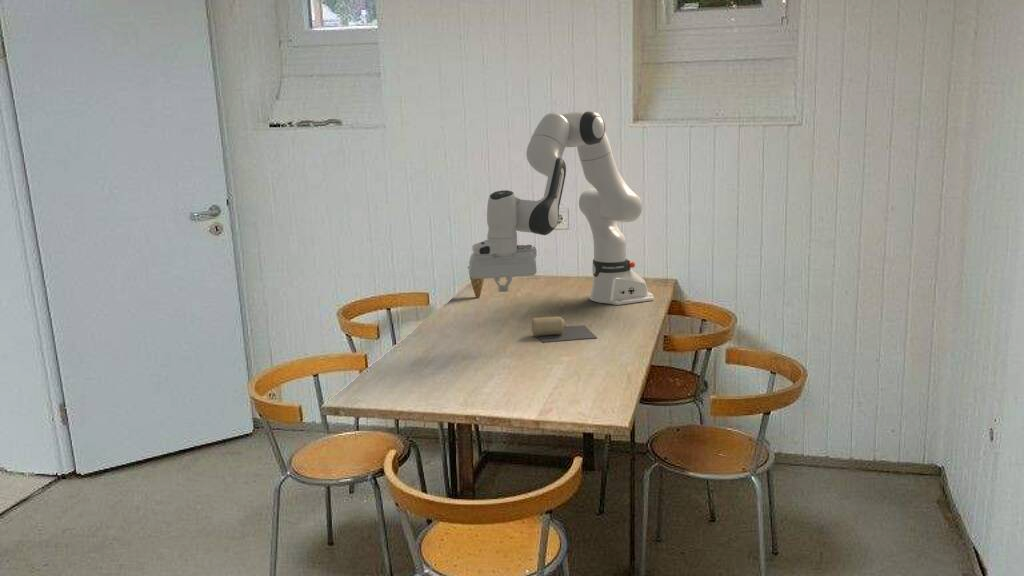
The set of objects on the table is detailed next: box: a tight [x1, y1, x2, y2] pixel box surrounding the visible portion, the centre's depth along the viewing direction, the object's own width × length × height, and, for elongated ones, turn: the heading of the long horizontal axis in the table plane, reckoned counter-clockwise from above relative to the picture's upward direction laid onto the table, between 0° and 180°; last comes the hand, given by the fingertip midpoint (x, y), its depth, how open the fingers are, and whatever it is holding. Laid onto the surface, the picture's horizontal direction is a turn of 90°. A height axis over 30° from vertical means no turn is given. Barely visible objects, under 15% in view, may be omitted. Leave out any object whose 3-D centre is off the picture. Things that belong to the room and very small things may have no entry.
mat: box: [536, 324, 598, 344], centre depth 280 cm, size 17×14×1 cm
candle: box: [531, 316, 567, 337], centre depth 278 cm, size 6×6×10 cm
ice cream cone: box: [467, 266, 485, 299], centre depth 326 cm, size 7×6×15 cm
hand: (503, 291), depth 273 cm, fingers closed
